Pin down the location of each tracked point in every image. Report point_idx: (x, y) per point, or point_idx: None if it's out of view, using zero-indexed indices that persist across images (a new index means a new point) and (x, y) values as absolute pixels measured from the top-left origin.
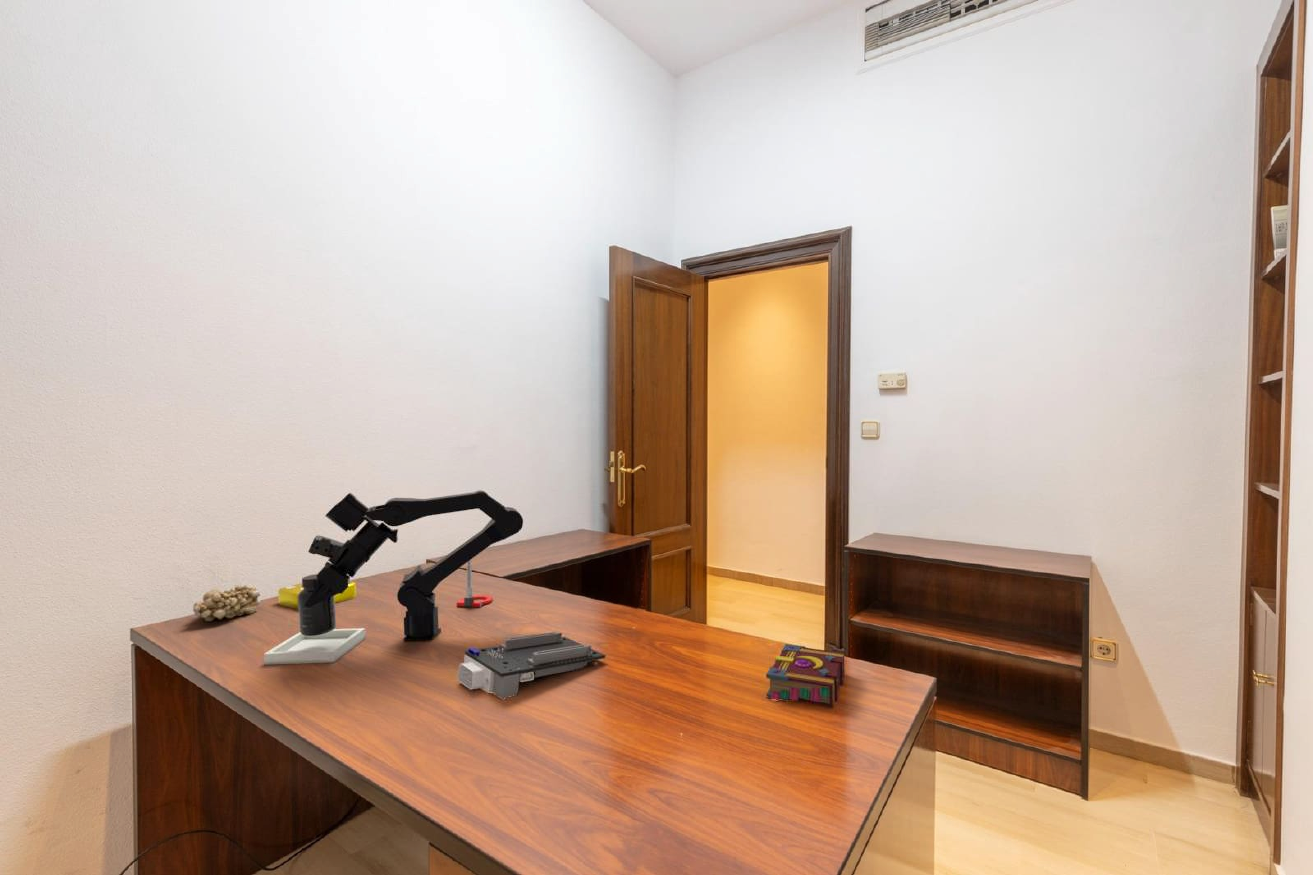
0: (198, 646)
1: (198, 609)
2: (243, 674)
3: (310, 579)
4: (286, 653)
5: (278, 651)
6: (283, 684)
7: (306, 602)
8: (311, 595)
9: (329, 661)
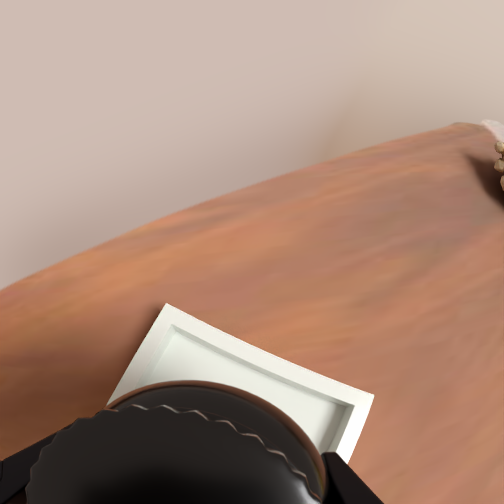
0: (393, 174)
1: (498, 149)
2: (129, 273)
3: (31, 482)
4: (129, 364)
5: (204, 342)
6: (12, 355)
7: (69, 427)
8: (22, 453)
9: None
